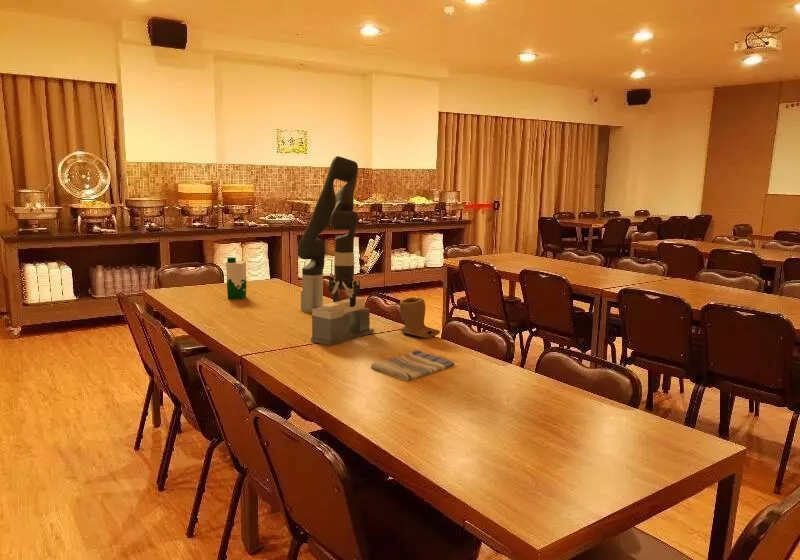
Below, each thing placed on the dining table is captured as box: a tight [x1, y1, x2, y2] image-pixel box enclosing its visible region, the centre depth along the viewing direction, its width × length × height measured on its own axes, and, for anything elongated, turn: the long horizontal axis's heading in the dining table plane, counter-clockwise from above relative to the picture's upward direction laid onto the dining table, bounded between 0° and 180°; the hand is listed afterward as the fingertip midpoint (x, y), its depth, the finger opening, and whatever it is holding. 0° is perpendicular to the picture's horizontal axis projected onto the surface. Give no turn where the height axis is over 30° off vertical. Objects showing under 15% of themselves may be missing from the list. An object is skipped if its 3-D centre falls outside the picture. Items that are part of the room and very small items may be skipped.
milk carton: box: [225, 256, 247, 300], centre depth 301 cm, size 9×9×20 cm
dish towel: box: [370, 350, 455, 382], centre depth 202 cm, size 17×24×3 cm
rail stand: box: [310, 307, 375, 347], centre depth 235 cm, size 10×25×12 cm, turn 143°
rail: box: [322, 296, 366, 313], centre depth 235 cm, size 4×20×4 cm, turn 143°
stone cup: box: [398, 296, 441, 339], centre depth 240 cm, size 15×12×15 cm
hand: (344, 305), depth 234 cm, fingers open, 8 cm apart
